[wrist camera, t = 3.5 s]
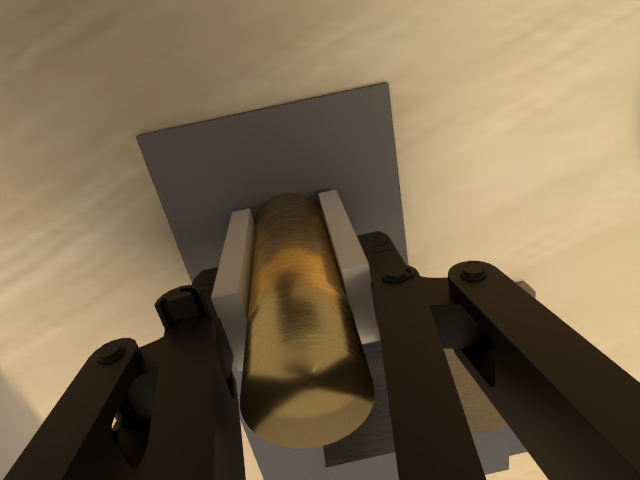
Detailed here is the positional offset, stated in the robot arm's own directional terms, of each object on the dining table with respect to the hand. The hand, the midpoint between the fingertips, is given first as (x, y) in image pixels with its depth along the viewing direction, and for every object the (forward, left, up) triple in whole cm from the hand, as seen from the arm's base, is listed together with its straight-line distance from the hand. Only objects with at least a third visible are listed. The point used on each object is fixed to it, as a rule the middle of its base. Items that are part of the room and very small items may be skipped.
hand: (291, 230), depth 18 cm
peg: (0, 0, -1) cm, 1 cm away
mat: (0, 0, -1) cm, 1 cm away
